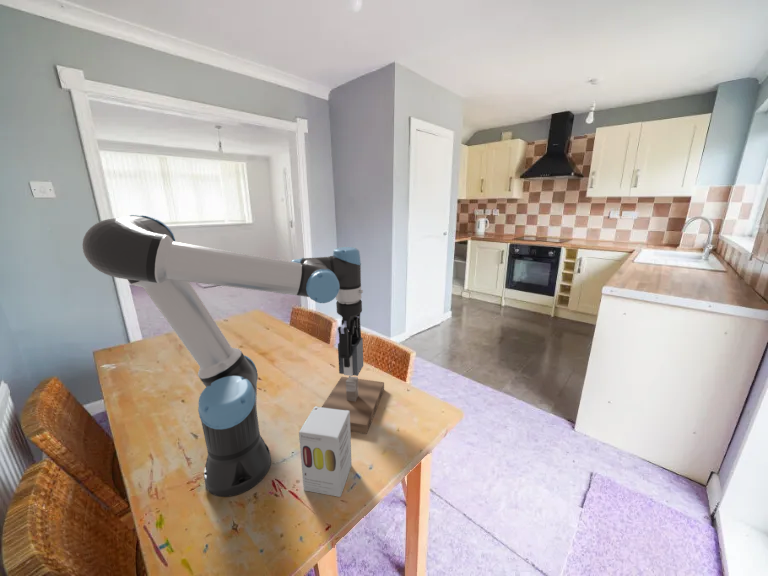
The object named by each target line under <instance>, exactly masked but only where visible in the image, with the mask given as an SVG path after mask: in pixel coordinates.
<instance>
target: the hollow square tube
mask: <svg viewBox="0 0 768 576" xmlns="http://www.w3.org/2000/svg"><path fill="white" fill-rule="evenodd" d="M363 346H364V339H363V337H362V336H361V337H352V346H351V356H352V362H353V376H354V377H358V376H359V374H360V373H361V370H362V369H363V367H364V347H363ZM337 354H338V355H337V357H338V374H339V375H340V374H341V375H344V367H343V358H340V351H339V342H338V343H337Z"/></svg>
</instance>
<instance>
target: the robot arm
mask: <svg viewBox="0 0 768 576" xmlns="http://www.w3.org/2000/svg"><path fill="white" fill-rule="evenodd" d="M82 251H83V255H84V257H85V258H86V260H87V262H88V263H89V264H90V265H91V266H92V267H93V268H95V269H96V270H97V271H98V272H100V273H102V274H104V275H107V276H110V277H113V278H117V279H123V280H127V281H128V283H129V284H130V285H131V286H136V287H139V288H143V290H144V291H145V293H147V295H148V296H149V299H151V301H152V302H153V304H154V305H155V306H156V308H157V309H158V310H159V311H160V313H161V315H162V316H163V317H164V318H165V320H166V322H167V323H168V324H169V326H170V328H171V329H172V330H173V331H174V332H175V334H176V336H177V337H178V338H179V340H180V341H181V342H182V344H183V345H184V347H185V348H186V350H187V351H188V352H189V353H190V355H191V356H192V358H193V360H194V361H195V362H196V363H197V365H198V367H199V369H198V372H197V377H198V378H199V380H200V381H201V383H202V384H203V385H204V386H205V388H204V389H203V390H202V392H201V393H200V395H199V398H198V407H197V408H198V409H197V410H198V414H199V418H200V421H201V426H202V430H203V435H204V441H205V445H206V450H207V458H206V462H205V467H204V470H203V480H204V484H205V487H206V489H207V491H208V492H209V493H210V494H212V495H214V496H217V497H225V498H227V497H233V496H237V495H240V494H243V493H245V492H247V491H249V490H250V489H252V488H254V487H255V486H257V485H258V484H259V483H260V482H261V481H262V480H263V478H264V477H265V476H266V475H267V473H268V472H269V470H270V467H271V464H272V457H271V451H270V447H269V446H268V445H267V443H266V442H265V440H264V439H263V437H262V435H261V433H260V424H259V418H258V417H259V416H258V410H257V404H258V403H257V396H258V395H257V394H258V393H257V391H258V389H257V388H258V378H259V375H258V370H257V367H256V364H255V362H254V361H253V360H252V359H251V358H250V357H249V356H247V355H244V353H243V352H242V350H241V349H240V348H237V347H232V346H231V344H230V343H229V341H228V340H227V337H226V336H225V335H224V334H223V332H222V330H221V328H220V327H219V326H218V323H217V322H216V321H215V319H214V318H213V316H212V315H211V314H210V311H209V310H208V308H207V307H206V305H205V304H204V302H203V301H202V299H201V298H200V296H199V295H198V293H197V292H196V289H195V288H194V286H193V285H192V284H191V283H196V284H197V283H198V284H206V285H214V286H222V287H229V288H237V289H245V290H250V291H251V290H253V291H258V292H267V293H276V294H283V295H292V296H299V297H305V298H309V299H310V300H313V302H316V303H318V304H326V303H330V302H332V301H333V300H336V303H335V304H336V314H337V315H339V316H341V317H342V319H341V323H340V324H341V326H338V328H337V330H338V331H337V332H338V343H339V351H340V358H343V367H344V374H343V375H344V376H348V377H349V376H351V377H354V375H353V362H352V356H351V346H352V337H361V338H362V333H361V332H362V331H361V330H362V329H361V313H363V312H362V311H363V301H362V300H361V299H362V294H363V293H364V290H363V289H362V270H361V269H362V267H361V266H362V263H361V262H362V261H361V254H360V250H359V249H358V248H356V247H353V246H344V247H343V246H342V247H337V248H334V249H333V252H332V253H333V254H332V255H330V256H320V257H305V258H304V257H301V258H296V259H292V260H291V261H289V260H282V259H276V258H271V257H265V256H261V255H254V254H247V253H242V252H236V251H232V250H231V251H230V250H225V249H219V248H214V247H208V246H203V245H197V244H191V243H184V242H178V241H176V238H175V235H174V233H173V231H172V230H171V228H169V227H168V226H167V225H166V224H165V223H164V222H163V221H161V220H159V219H157V218H155V217H151V216H147V215H142V214H140V215H139V214H131V215H128V216H127V215H126V216H121V217H114V218H107V219H104V220H101V221H99V222H97V223H95V224H93V225H92V226H91V227H89V229H88V230H87V231H86V233H85V235H84V236H83V239H82Z"/></svg>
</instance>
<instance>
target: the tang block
mask: <svg viewBox="0 0 768 576" xmlns="http://www.w3.org/2000/svg"><path fill="white" fill-rule="evenodd" d="M384 391H385V382H384V381H377V380H370V379H369V380H368V379H362V378H358V376H349V375H348V377H347V376H340V378H339V380H338V381H337V383H336V385H335V386H334V388H333V389H332V390H331V392H330V394H329V395H328V397H327V398H326V399H325V401H324V403H323V404H322V406H321V407H323V408H330V409H338V410H348V411H350V431H351V432H353V433H354V432H356V433H360V434H365V435H367V434H368V431H369V429H370V427H371V424H372V422H373V419H374V416H375V414H376V411H377V409H378V406H379V404H380V402H381V399H382V396H383V394H384Z"/></svg>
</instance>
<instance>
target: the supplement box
mask: <svg viewBox="0 0 768 576" xmlns="http://www.w3.org/2000/svg"><path fill="white" fill-rule="evenodd" d="M351 432H352V431H350V411H348V410H338V409H330V408H323V407H322V406H316V405H315V406H314V407H313V408H312V410H311V411H310V412H309V414H308V417H307V418H306V420H305V422H304V423H303V424H302V426H301V428H300V430H299V432H298V436H299V437H298V438H299V449H300V460H301V462H300V463H301V471H302V487H303V491H306V492H312V493H318V494H322V495H328V496H332V497H333V496H335V497H337V498H340V497H341V496H342V495H343V492H344V489H345V486H346V483H347V479H348V478H349V474H350V472H351V468H352V465H353V463H352V442H351V441H352V437H351V434H352V433H351Z"/></svg>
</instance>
